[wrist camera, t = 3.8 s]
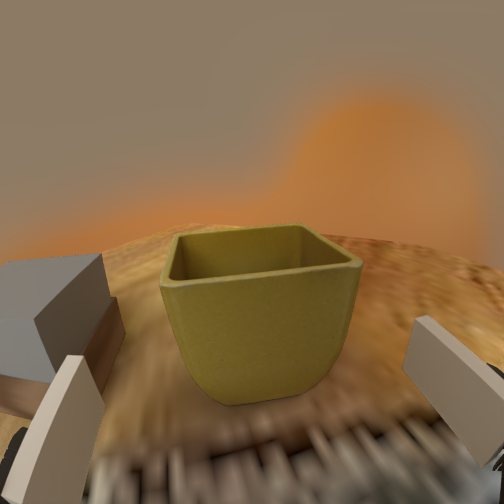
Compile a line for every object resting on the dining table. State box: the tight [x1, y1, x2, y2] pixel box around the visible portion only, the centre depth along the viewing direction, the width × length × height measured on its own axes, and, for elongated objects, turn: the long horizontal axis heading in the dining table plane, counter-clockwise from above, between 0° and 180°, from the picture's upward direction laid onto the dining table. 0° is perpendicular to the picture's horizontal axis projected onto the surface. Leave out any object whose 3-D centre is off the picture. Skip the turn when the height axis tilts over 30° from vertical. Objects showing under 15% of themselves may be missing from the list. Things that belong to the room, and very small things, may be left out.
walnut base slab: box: [0, 297, 126, 420], centre depth 17 cm, size 11×11×4 cm
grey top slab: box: [0, 253, 112, 383], centre depth 16 cm, size 10×10×4 cm
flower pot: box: [159, 223, 363, 406], centre depth 17 cm, size 9×9×9 cm
